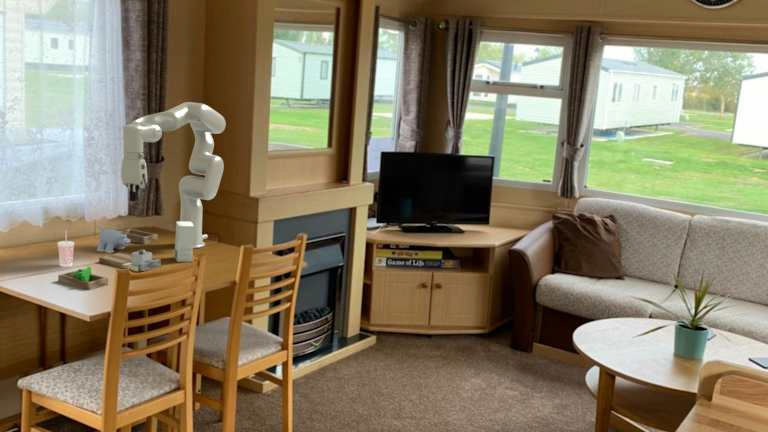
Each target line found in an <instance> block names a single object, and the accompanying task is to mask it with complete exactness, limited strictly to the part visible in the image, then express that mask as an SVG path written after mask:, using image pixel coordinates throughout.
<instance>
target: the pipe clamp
mask: <svg viewBox="0 0 768 432" xmlns="http://www.w3.org/2000/svg"><path fill="white" fill-rule="evenodd" d="M77 271H78V273H75V275H76V279H80V280H81V285H82V281H88V282H91V281H90V274H92V266H87V267H86V269H84V268H78V269H77Z"/></svg>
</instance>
